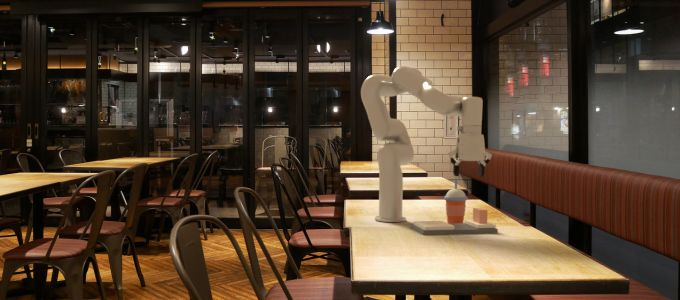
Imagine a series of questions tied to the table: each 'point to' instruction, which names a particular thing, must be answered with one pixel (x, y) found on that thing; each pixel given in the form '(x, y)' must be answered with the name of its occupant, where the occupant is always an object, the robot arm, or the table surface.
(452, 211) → the cup with straw
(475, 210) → the salmon brown block
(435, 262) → the table surface
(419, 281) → the table surface
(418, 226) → the grey flat block
